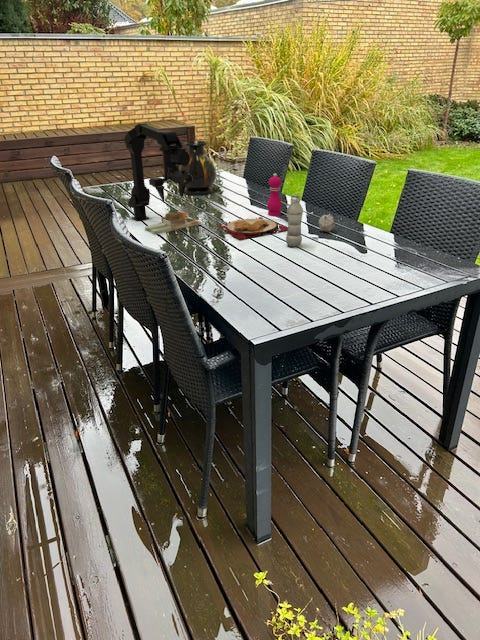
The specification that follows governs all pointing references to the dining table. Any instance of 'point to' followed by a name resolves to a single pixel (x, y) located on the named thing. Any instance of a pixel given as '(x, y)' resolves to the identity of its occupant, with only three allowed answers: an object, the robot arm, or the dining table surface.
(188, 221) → the deck
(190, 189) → the amphora vase
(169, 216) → the block
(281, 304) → the dining table surface
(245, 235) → the plate with food
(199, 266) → the dining table surface
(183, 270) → the dining table surface
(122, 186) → the dining table surface
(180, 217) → the sled
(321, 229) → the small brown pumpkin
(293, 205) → the plastic bottle
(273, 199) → the pepper mill
